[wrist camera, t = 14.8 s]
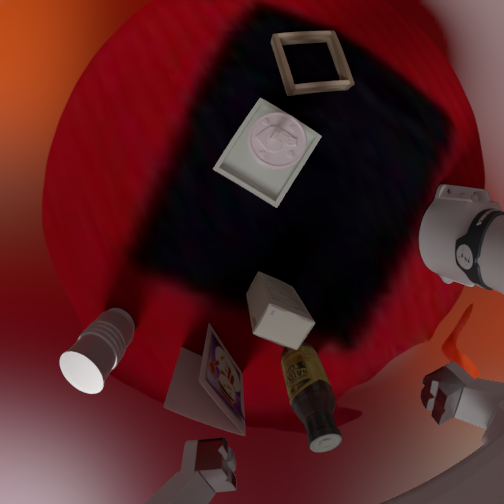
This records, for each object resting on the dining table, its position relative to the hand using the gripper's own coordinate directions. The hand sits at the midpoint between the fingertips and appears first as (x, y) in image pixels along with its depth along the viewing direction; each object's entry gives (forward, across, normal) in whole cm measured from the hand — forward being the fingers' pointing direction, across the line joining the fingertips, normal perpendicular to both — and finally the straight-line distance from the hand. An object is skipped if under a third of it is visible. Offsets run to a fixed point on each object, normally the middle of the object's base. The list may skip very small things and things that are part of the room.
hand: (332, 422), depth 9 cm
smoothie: (+32, +4, +13) cm, 35 cm away
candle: (+33, -26, -7) cm, 43 cm away
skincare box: (+33, 0, -7) cm, 34 cm away
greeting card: (+33, -12, -16) cm, 39 cm away
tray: (+33, +4, +13) cm, 36 cm away
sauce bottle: (+33, +2, -20) cm, 39 cm away
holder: (+33, +14, +26) cm, 44 cm away
